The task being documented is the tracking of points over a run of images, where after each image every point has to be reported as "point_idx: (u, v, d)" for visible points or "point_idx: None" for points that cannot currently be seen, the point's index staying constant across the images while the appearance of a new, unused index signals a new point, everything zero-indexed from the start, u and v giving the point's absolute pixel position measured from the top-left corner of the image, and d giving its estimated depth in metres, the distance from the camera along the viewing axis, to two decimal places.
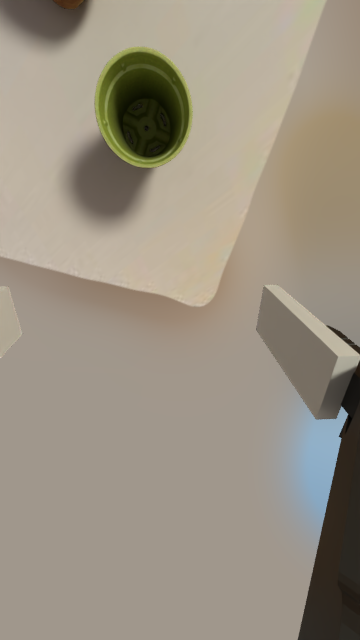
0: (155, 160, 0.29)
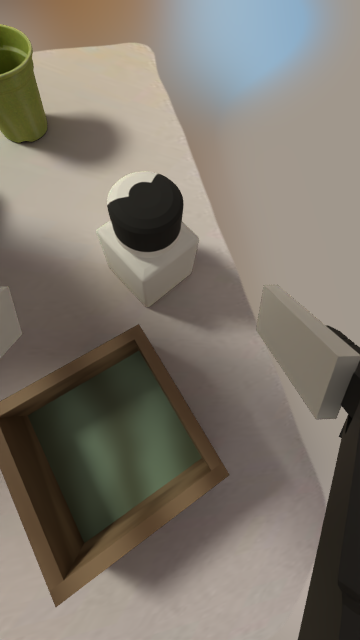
0: (25, 53, 0.32)
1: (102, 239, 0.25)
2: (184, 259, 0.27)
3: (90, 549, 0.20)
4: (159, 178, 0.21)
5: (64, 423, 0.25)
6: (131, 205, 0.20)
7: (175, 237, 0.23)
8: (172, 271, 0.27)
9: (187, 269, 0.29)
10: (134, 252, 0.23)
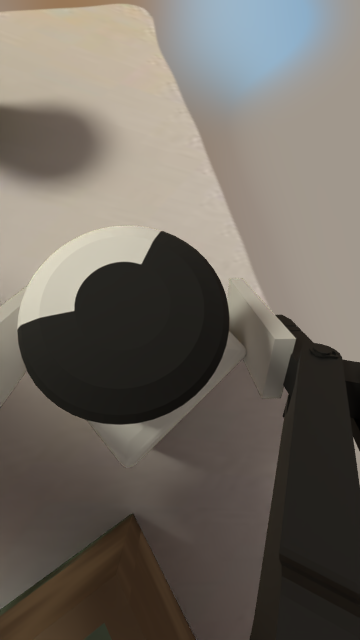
0: None
1: None
2: None
3: None
4: (164, 249, 0.08)
5: None
6: (80, 342, 0.07)
7: None
8: None
9: None
10: None
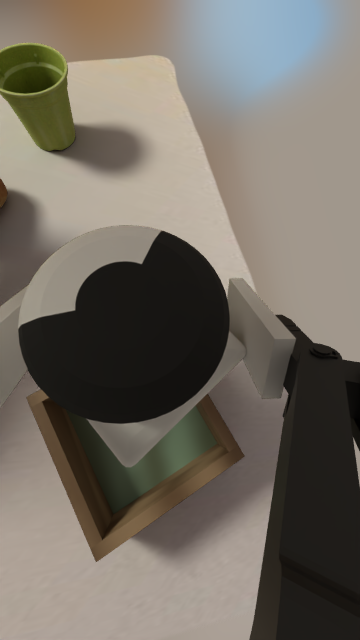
0: (59, 70, 0.34)
1: None
2: None
3: (121, 517, 0.23)
4: (164, 248, 0.08)
5: None
6: (81, 341, 0.07)
7: None
8: None
9: None
10: None
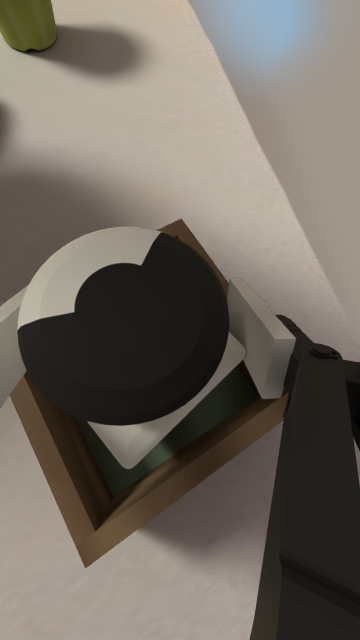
0: None
1: None
2: None
3: (126, 498, 0.15)
4: (164, 249, 0.08)
5: None
6: (80, 343, 0.07)
7: None
8: None
9: None
10: None
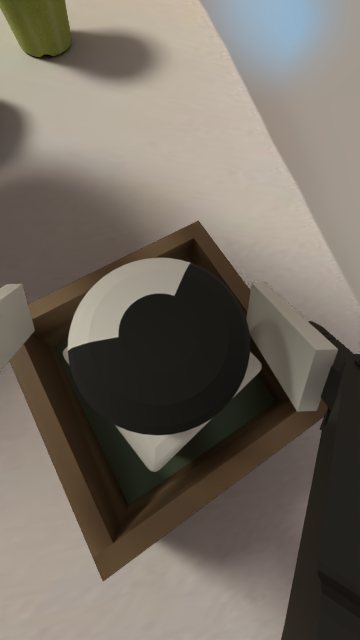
0: None
1: None
2: None
3: (142, 507, 0.15)
4: (193, 281, 0.09)
5: None
6: (124, 364, 0.08)
7: None
8: None
9: None
10: None
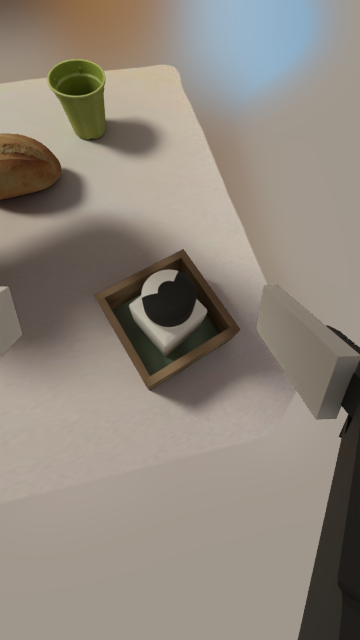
0: (97, 78, 0.46)
1: (134, 312, 0.33)
2: (195, 324, 0.34)
3: None
4: (179, 277, 0.29)
5: None
6: (159, 300, 0.28)
7: (190, 315, 0.31)
8: (186, 333, 0.34)
9: (197, 327, 0.37)
10: (159, 326, 0.31)
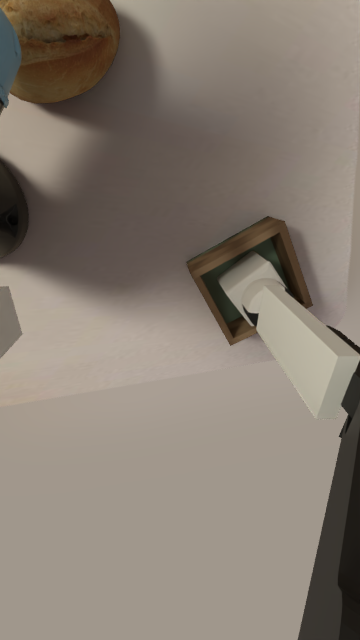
0: None
1: (229, 298, 0.37)
2: None
3: (237, 327, 0.44)
4: None
5: (217, 271, 0.42)
6: None
7: None
8: None
9: None
10: None
